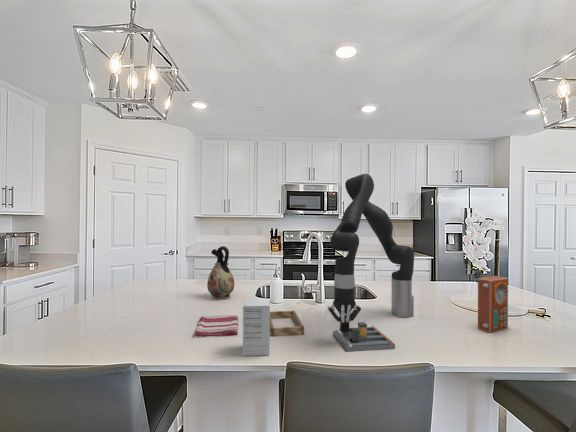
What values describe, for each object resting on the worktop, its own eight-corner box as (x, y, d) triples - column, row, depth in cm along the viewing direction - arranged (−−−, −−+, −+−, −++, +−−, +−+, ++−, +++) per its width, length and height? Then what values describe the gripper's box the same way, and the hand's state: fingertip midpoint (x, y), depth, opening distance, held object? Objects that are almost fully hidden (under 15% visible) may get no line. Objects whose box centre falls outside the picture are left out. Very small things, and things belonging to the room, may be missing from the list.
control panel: (511, 328, 138) (490, 334, 131) (494, 323, 144) (473, 328, 137) (511, 277, 138) (490, 280, 131) (494, 275, 144) (473, 277, 137)
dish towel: (193, 339, 125) (193, 332, 125) (200, 320, 149) (200, 314, 149) (237, 337, 128) (237, 330, 128) (238, 318, 151) (238, 312, 151)
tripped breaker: (364, 335, 124) (364, 322, 124) (366, 338, 121) (367, 324, 121) (357, 335, 124) (357, 322, 124) (360, 338, 121) (360, 324, 121)
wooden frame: (294, 317, 152) (294, 310, 152) (304, 334, 129) (304, 327, 129) (266, 318, 150) (266, 311, 150) (271, 336, 127) (271, 328, 127)
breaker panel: (375, 332, 132) (376, 316, 132) (395, 348, 116) (395, 330, 116) (333, 334, 129) (333, 318, 129) (346, 351, 113) (346, 332, 113)
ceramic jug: (201, 298, 185) (201, 246, 185) (221, 293, 198) (221, 244, 198) (222, 303, 175) (222, 247, 175) (241, 297, 188) (242, 245, 188)
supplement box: (269, 355, 109) (270, 305, 109) (242, 356, 109) (242, 306, 109) (269, 344, 119) (269, 298, 119) (243, 345, 118) (244, 299, 118)
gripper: (357, 283, 126) (357, 327, 126) (324, 284, 124) (324, 329, 124) (365, 287, 119) (364, 334, 119) (330, 288, 117) (329, 336, 117)
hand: (344, 331), depth 122 cm, fingers closed
